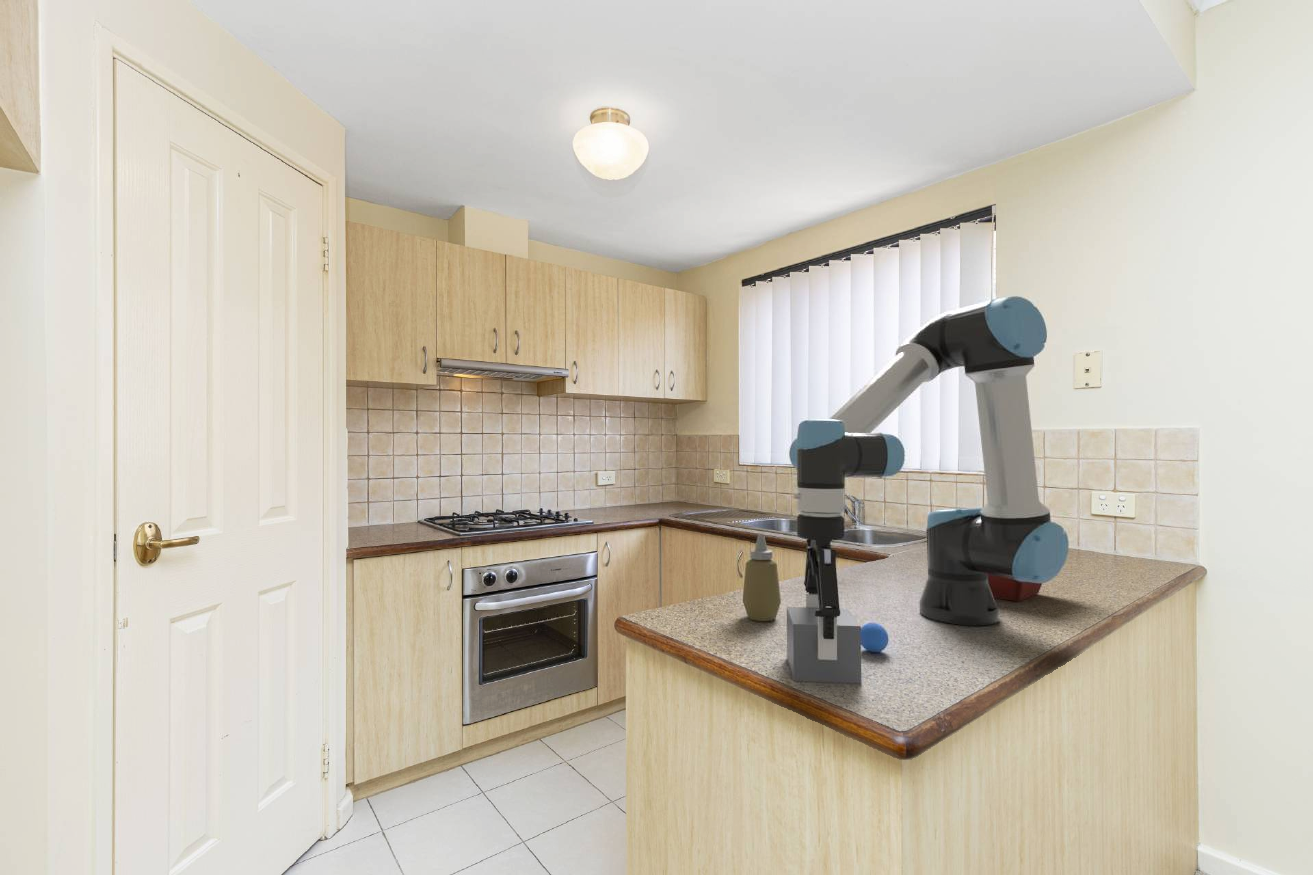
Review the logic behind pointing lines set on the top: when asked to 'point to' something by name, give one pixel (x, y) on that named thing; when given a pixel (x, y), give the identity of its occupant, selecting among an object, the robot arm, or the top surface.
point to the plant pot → (1012, 588)
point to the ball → (874, 637)
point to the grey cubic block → (806, 648)
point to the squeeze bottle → (761, 584)
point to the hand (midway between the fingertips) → (820, 644)
